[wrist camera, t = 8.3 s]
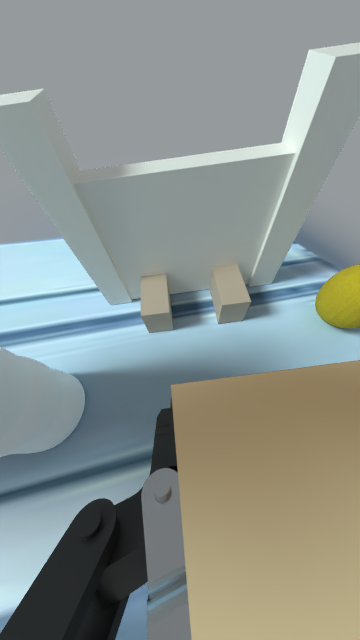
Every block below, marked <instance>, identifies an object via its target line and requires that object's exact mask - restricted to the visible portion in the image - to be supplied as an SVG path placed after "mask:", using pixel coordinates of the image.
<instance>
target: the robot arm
mask: <svg viewBox="0 0 360 640" xmlns="http://www.w3.org/2000/svg"><path fill="white" fill-rule="evenodd" d="M146 582H148V592H149V595H148V600H147V624H148V640H192V638H191V626H190V614H189V602H188V590H187V578H186V565H185V553H184V541H183V529H182V517H181V505H180V492H179V480H178V468H177V456H176V444H175V432H174V419H173V407H172V397H171V408H167V409H162V410H161V412H160V413H159V415H158V417H157V422H156V431H155V439H154V447H153V456H152V464H151V471H150V475H149V477H148V479H147V480H146V482H145V484H144V486H143V487H142V489H141V490H140V491H139V492H137V493H136V494H135V495H133V496H132V497H130V498H128V499H126V500H124V501H122V502H120V503H118V504H116V505H113V503H112V502H111V501H110V500H108V499H104V498H103V499H97V500H94V501H92V502H91V503H89V504H87V505H86V506H85V507H84V508H83V509H82V510H81V511H80V512H79V513H78V514H77V515H76V517H75V518H74V520H73V521H72V523H71V524H70V526H69V527H68V529H67V531H66V532H65V534H64V535H63V537H62V538H61V540H60V541H59V543H58V545H57V546H56V548H55V549H54V551H53V552H52V554H51V555H50V557H49V559H48V560H47V562H46V563H45V565H44V566H43V568H42V570H41V571H40V573H39V574H38V576H37V577H36V579H35V580H34V582H33V584H32V585H31V587H30V588H29V590H28V591H27V593H26V594H25V596H24V598H23V599H22V601H21V602H20V604H19V605H18V607H17V608H16V610H15V612H14V613H13V615H12V616H11V618H10V619H9V621H8V622H7V624H6V626H5V627H4V629H3V630H2V632H1V633H0V640H115V637H116V634H117V631H118V628H119V625H120V622H121V619H122V616H123V613H124V610H125V607H126V604H127V601H128V598H129V595H130V593H132V592H133V591H135V590H136V589H138V588H139V587H141V586H142V585H143V584H145V583H146Z"/></svg>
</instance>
